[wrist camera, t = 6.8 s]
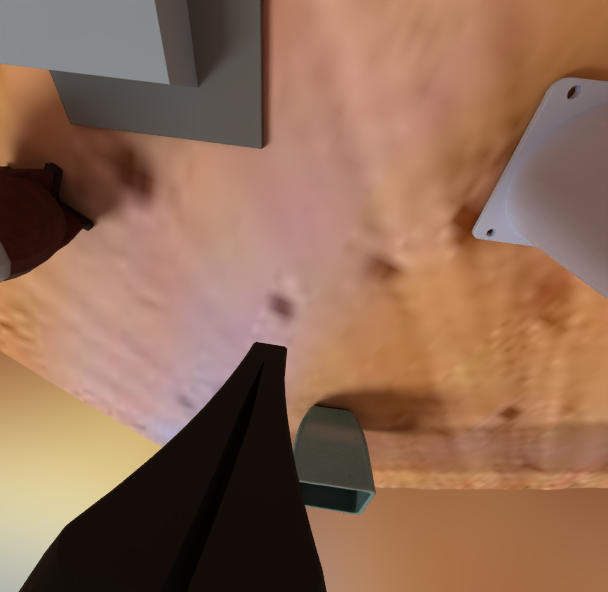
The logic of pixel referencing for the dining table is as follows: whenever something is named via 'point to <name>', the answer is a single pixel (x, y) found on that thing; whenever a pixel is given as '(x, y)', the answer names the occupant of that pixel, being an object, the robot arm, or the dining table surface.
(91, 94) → the mat
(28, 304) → the dining table surface
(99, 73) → the slab
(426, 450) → the dining table surface
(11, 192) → the mate gourd
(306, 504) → the flower pot
